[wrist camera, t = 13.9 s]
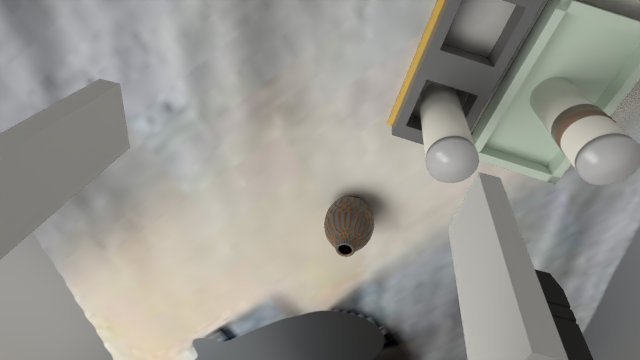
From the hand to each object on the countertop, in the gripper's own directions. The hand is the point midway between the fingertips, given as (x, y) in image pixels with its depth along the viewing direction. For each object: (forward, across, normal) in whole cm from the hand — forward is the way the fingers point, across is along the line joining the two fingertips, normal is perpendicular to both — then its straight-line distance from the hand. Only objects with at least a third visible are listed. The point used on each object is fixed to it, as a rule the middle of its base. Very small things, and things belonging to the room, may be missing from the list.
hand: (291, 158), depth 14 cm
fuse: (+32, +11, -9) cm, 35 cm away
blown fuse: (+31, +23, -5) cm, 39 cm away
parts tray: (+32, +23, -5) cm, 39 cm away
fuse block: (+32, +12, -4) cm, 34 cm away
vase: (+32, +5, -28) cm, 42 cm away
